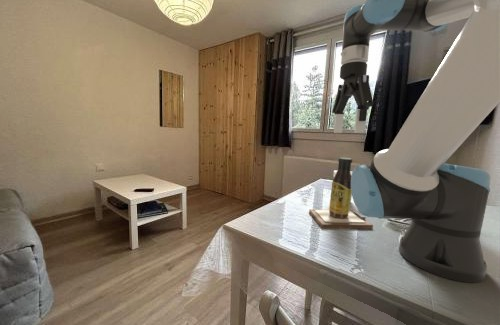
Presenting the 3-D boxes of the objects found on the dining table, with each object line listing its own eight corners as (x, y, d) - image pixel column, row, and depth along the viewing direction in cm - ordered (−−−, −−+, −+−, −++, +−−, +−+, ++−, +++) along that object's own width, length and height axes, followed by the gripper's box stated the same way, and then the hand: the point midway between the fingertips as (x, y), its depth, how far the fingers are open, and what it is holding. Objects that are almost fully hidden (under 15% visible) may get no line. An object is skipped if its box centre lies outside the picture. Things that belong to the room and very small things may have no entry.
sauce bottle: (324, 213, 73) (329, 156, 71) (338, 211, 76) (343, 156, 73) (339, 220, 67) (344, 159, 65) (353, 218, 70) (359, 159, 67)
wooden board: (372, 228, 66) (373, 222, 66) (322, 228, 65) (322, 221, 65) (351, 213, 79) (352, 207, 78) (309, 212, 78) (309, 206, 78)
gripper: (325, 74, 78) (321, 132, 81) (366, 47, 53) (357, 132, 56) (345, 75, 78) (340, 133, 81) (394, 49, 54) (384, 133, 57)
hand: (347, 132), depth 69 cm, fingers open, 13 cm apart
